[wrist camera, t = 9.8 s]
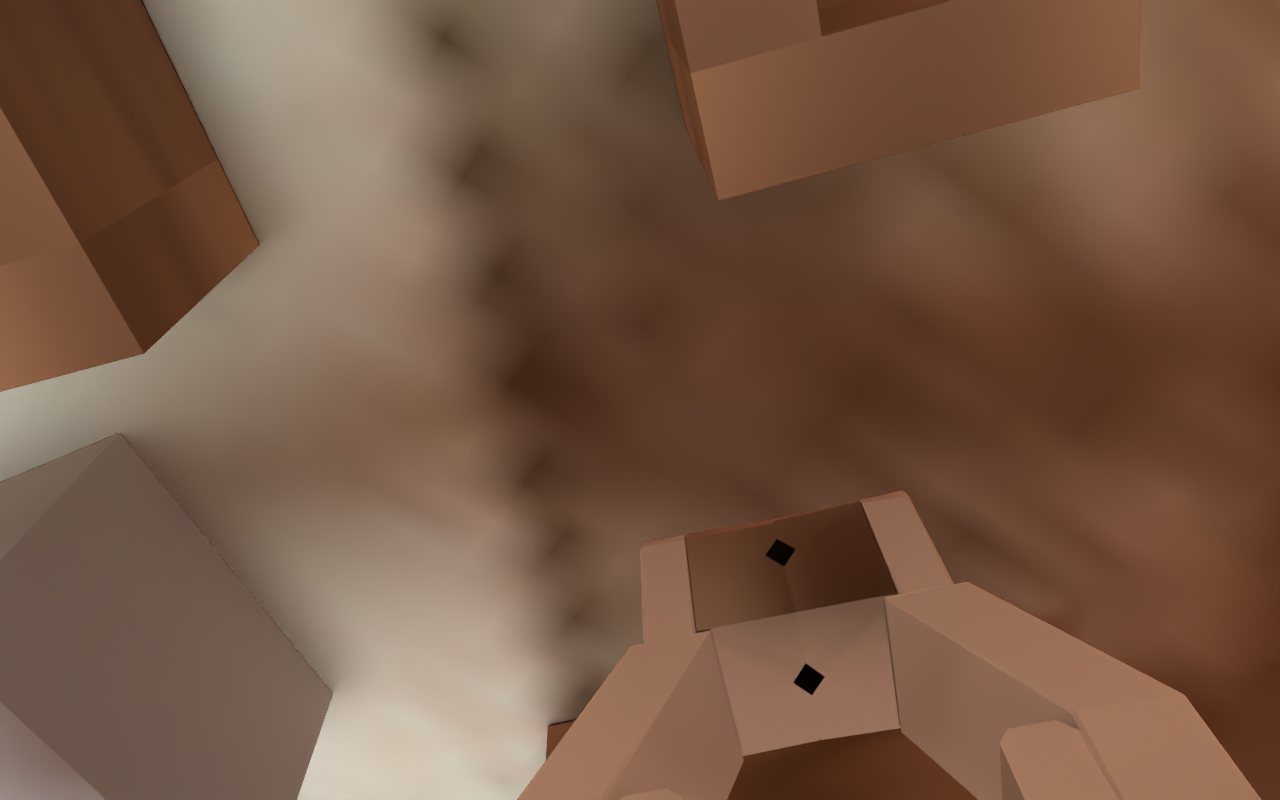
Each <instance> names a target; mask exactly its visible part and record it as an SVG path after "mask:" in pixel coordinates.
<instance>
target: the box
mask: <svg viewBox="0 0 1280 800" xmlns="http://www.w3.org/2000/svg"><path fill="white" fill-rule="evenodd" d="M657 4H658V8H659V12H660V17H661V21H662V25H663V30H664V34H665V39H666V43H667V47H668V52H669V56H670V61H671V65H672V69H673V74H674V78H675V82H676V87H677V91H678V96H679V100H680V104H681V109H682V113H683V117H684V122H685V126H686V129H687V132H688V134H689V136H690V138H691V141H692V143H693V145H694V147H695V149H696V152H697V154H698V156H699V158H700V161H701V163H702V165H703V167H704V169H705V172H706V174H707V176H708V178H709V180H710V183H711V185H712V187H713V189H714V192H715V194H716V196H717V198H718V200H723V199H726V198H730V197H734V196H738V195H741V194H745V193H749V192H753V191H756V190H760V189H764V188H768V187H771V186H775V185H779V184H783V183H786V182H790V181H794V180H798V179H801V178H805V177H809V176H813V175H817V174H820V173H824V172H828V171H832V170H835V169H839V168H843V167H847V166H850V165H854V164H858V163H862V162H865V161H869V160H873V159H877V158H880V157H884V156H888V155H892V154H895V153H899V152H903V151H907V150H910V149H914V148H918V147H922V146H925V145H929V144H933V143H937V142H940V141H944V140H948V139H952V138H956V137H959V136H963V135H967V134H971V133H974V132H978V131H982V130H986V129H989V128H993V127H997V126H1001V125H1004V124H1008V123H1012V122H1016V121H1019V120H1023V119H1027V118H1031V117H1034V116H1038V115H1042V114H1046V113H1049V112H1053V111H1057V110H1061V109H1064V108H1068V107H1072V106H1076V105H1080V104H1083V103H1087V102H1091V101H1095V100H1098V99H1102V98H1106V97H1110V96H1113V95H1117V94H1121V93H1125V92H1128V91H1132V90H1136V89H1139V40H1140V0H657ZM258 246H259V244H258V242H257V240H256V238H255V235H254V233H253V231H252V229H251V227H250V225H249V223H248V221H247V219H246V217H245V215H244V213H243V211H242V209H241V207H240V204H239V202H238V200H237V198H236V196H235V194H234V192H233V190H232V188H231V186H230V184H229V182H228V180H227V178H226V175H225V173H224V171H223V169H222V167H221V165H220V163H219V161H218V159H217V157H216V155H215V153H214V151H213V149H212V147H211V144H210V142H209V140H208V138H207V136H206V134H205V132H204V130H203V128H202V126H201V124H200V122H199V120H198V118H197V115H196V113H195V111H194V109H193V107H192V105H191V103H190V101H189V99H188V97H187V95H186V93H185V91H184V89H183V87H182V84H181V82H180V80H179V78H178V76H177V74H176V72H175V70H174V68H173V66H172V64H171V62H170V60H169V58H168V55H167V53H166V51H165V49H164V47H163V45H162V43H161V41H160V39H159V37H158V35H157V33H156V31H155V29H154V27H153V24H152V22H151V20H150V18H149V16H148V14H147V12H146V10H145V8H144V6H143V4H142V2H141V0H0V392H1V391H5V390H9V389H12V388H16V387H20V386H24V385H28V384H31V383H35V382H39V381H43V380H46V379H50V378H54V377H58V376H61V375H65V374H69V373H73V372H76V371H80V370H84V369H88V368H91V367H95V366H99V365H103V364H106V363H110V362H114V361H118V360H121V359H125V358H129V357H133V356H136V355H140V354H144V353H145V352H146V351H147V350H148V349H149V348H150V347H151V346H152V345H154V344H155V343H156V342H157V341H158V340H159V339H160V338H161V337H162V336H163V335H164V334H165V333H166V332H167V331H168V330H169V329H171V328H172V327H173V326H174V325H175V324H176V323H177V322H178V321H179V320H180V319H181V318H182V317H183V316H184V315H185V314H186V313H188V312H189V311H190V310H191V309H192V308H193V307H194V306H195V305H196V304H197V303H198V302H199V301H200V300H201V299H202V298H203V297H205V296H206V295H207V294H208V293H209V292H210V291H211V290H212V289H213V288H214V287H215V286H216V285H217V284H218V283H219V282H220V281H222V280H223V279H224V278H225V277H226V276H227V275H228V274H229V273H230V272H231V271H232V270H233V269H234V268H235V267H236V266H238V265H239V264H240V263H241V262H242V261H243V260H244V259H245V258H246V257H247V256H248V255H249V254H250V253H251V252H252V251H253V250H255V249H256V248H257V247H258ZM574 722H575V721H571V722H567V723H562V724H557V725H553V726H548V736H547V752H546V760H547V758H548V757H549V756H550V754H551V753H552V752H553V750H554V749H555V748H556V746H557V745H558V744H559V742H560V741H561V740H562V738H563V737H564V735H565V734H566V733H567V731H568V730H569V729H570V727H571V726H572V725H573V723H574ZM819 736H820V735H819ZM743 760H744V761H743V764H742V766H741V768H740V771H739V773H738V775H737V778H736V780H735V782H734V785H733V787H732V789H731V792H730V794H729V796H728V799H727V800H978V799H977V798H976V797H975V796H974V795H972V794H971V793H970V792H969V791H968V790H967V789H966V788H965V787H963V786H962V785H961V784H960V783H959V782H958V781H957V780H955V779H954V778H953V777H952V776H951V775H950V774H949V773H948V772H946V771H945V770H944V769H943V768H942V767H941V766H940V765H938V764H937V763H936V762H935V761H934V760H933V759H932V758H930V757H929V756H928V755H927V754H926V753H925V752H924V751H923V750H921V749H920V748H919V747H918V746H917V745H916V744H915V743H913V742H912V741H911V740H910V739H909V738H908V737H907V736H906V735H904V734H903V733H902V732H901V728H898V729H892V730H885V731H878V732H872V733H865V734H858V735H852V736H845V737H838V738H831V739H825V740H821V739H820V740H818V741H814V742H809V743H804V744H799V745H794V746H789V747H785V748H780V749H775V750H770V751H765V752H760V753H756V754H751V755H746V756H743Z"/></svg>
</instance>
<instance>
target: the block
mask: <svg viewBox="0 0 1280 800" xmlns="http://www.w3.org/2000/svg"><path fill="white" fill-rule="evenodd" d="M332 695H333V693H332V692H331V691H330V690H329V688H328V687H327V686H326V685H325V684H324V682H323V681H322V680H321V679H320V677H319V676H318V675H317V674H316V672H315V671H314V670H313V669H312V668H311V666H310V665H309V664H308V663H307V661H306V660H305V659H304V658H303V656H302V655H301V654H300V653H299V652H298V650H297V649H296V648H295V647H294V645H293V644H292V643H291V642H290V640H289V639H288V638H287V637H286V636H285V634H284V633H283V632H282V631H281V629H280V628H279V627H278V626H277V624H276V623H275V622H274V621H273V620H272V618H271V617H270V616H269V615H268V613H267V612H266V611H265V610H264V608H263V607H262V606H261V605H260V604H259V602H258V601H257V600H256V599H255V597H254V596H253V595H252V594H251V592H250V591H249V590H248V589H247V588H246V586H245V585H244V584H243V583H242V581H241V580H240V579H239V578H238V577H237V575H236V574H235V573H234V572H233V570H232V569H231V568H230V567H229V565H228V564H227V563H226V562H225V561H224V559H223V558H222V557H221V556H220V554H219V553H218V552H217V551H216V549H215V548H214V547H213V546H212V545H211V543H210V542H209V541H208V540H207V538H206V537H205V536H204V535H203V533H202V532H201V531H200V530H199V529H198V527H197V526H196V525H195V524H194V522H193V521H192V520H191V519H190V517H189V516H188V515H187V514H186V513H185V511H184V510H183V509H182V508H181V506H180V505H179V504H178V503H177V501H176V500H175V499H174V498H173V497H172V495H171V494H170V493H169V492H168V490H167V489H166V488H165V487H164V486H163V484H162V483H161V482H160V481H159V479H158V478H157V477H156V476H155V474H154V473H153V472H152V471H151V470H150V468H149V467H148V466H147V465H146V463H145V462H144V461H143V460H142V458H141V457H140V456H139V455H138V454H137V452H136V451H135V450H134V449H133V447H132V446H131V445H130V444H129V442H128V441H127V440H126V439H125V438H124V436H123V435H122V434H121V433H117V434H115V435H113V436H110V437H108V438H105V439H103V440H101V441H98V442H96V443H93V444H91V445H89V446H86V447H84V448H81V449H79V450H77V451H74V452H72V453H69V454H67V455H65V456H62V457H60V458H57V459H55V460H53V461H50V462H48V463H45V464H43V465H41V466H38V467H36V468H33V469H31V470H29V471H26V472H24V473H21V474H19V475H17V476H14V477H12V478H9V479H7V480H5V481H2V482H0V800H297V797H298V794H299V791H300V789H301V786H302V783H303V780H304V777H305V774H306V771H307V768H308V765H309V762H310V759H311V756H312V754H313V751H314V748H315V745H316V742H317V739H318V736H319V733H320V730H321V727H322V724H323V721H324V718H325V716H326V713H327V710H328V707H329V704H330V701H331V698H332Z"/></svg>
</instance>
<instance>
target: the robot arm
mask: <svg viewBox="0 0 1280 800" xmlns="http://www.w3.org/2000/svg"><path fill="white" fill-rule="evenodd" d="M640 565H641V591H642V617H643V643H642V644H637V645H632V646H630V647H629V649H628V650H627V652H626V653H625V654H624V656H623V657H622V658H621V660H620V661H619V662H618V664H617V665H616V666H615V668H614V669H613V671H612V672H611V673H610V675H609V676H608V677H607V679H606V680H605V681H604V683H603V684H602V685H601V687H600V688H599V689H598V691H597V692H596V694H595V695H594V696H593V698H592V699H591V700H590V702H589V703H588V704H587V706H586V707H585V708H584V710H583V711H582V712H581V714H580V715H579V717H578V718H577V719H576V721H575V722H574V723H573V725H572V726H571V727H570V729H569V730H568V731H567V733H566V734H565V735H564V737H563V738H562V740H561V741H560V742H559V744H558V745H557V746H556V748H555V749H554V750H553V752H552V753H551V754H550V756H549V757H548V758H547V760H546V761H545V763H544V764H543V765H542V767H541V768H540V769H539V771H538V772H537V773H536V775H535V776H534V777H533V779H532V780H531V781H530V783H529V784H528V786H527V787H526V788H525V790H524V791H523V792H522V794H521V795H520V796H519V798H518V799H517V800H727V799H728V796H729V794H730V792H731V789H732V787H733V785H734V782H735V780H736V778H737V775H738V773H739V771H740V768H741V766H742V764H743V761H744V760H743V756H746V755H751V754H756V753H760V752H765V751H770V750H775V749H780V748H785V747H789V746H794V745H799V744H804V743H809V742H814V741H818V740H820V739H821V740H825V739H831V738H838V737H845V736H852V735H858V734H865V733H872V732H878V731H885V730H892V729H898V728H901V732H902V733H903V734H904V735H906V736H907V737H908V738H909V739H910V740H911V741H912V742H913V743H915V744H916V745H917V746H918V747H919V748H920V749H921V750H923V751H924V752H925V753H926V754H927V755H928V756H929V757H930V758H932V759H933V760H934V761H935V762H936V763H937V764H938V765H940V766H941V767H942V768H943V769H944V770H945V771H946V772H948V773H949V774H950V775H951V776H952V777H953V778H954V779H955V780H957V781H958V782H959V783H960V784H961V785H962V786H963V787H965V788H966V789H967V790H968V791H969V792H970V793H971V794H972V795H974V796H975V797H976V798H977V799H978V800H1261V799H1260V797H1259V796H1258V794H1257V793H1256V792H1255V790H1254V789H1253V788H1252V786H1251V785H1250V783H1249V782H1248V781H1247V779H1246V778H1245V777H1244V775H1243V774H1242V773H1241V771H1240V770H1239V768H1238V767H1237V766H1236V764H1235V763H1234V762H1233V760H1232V759H1231V758H1230V756H1229V755H1228V753H1227V752H1226V751H1225V749H1224V748H1223V747H1222V745H1221V744H1220V742H1219V741H1218V740H1217V738H1216V737H1215V736H1214V734H1213V733H1212V732H1211V730H1210V729H1209V727H1208V726H1207V725H1206V723H1205V722H1204V721H1203V719H1202V718H1201V717H1200V715H1199V714H1198V712H1197V711H1196V710H1195V708H1194V707H1193V706H1192V704H1191V703H1190V702H1189V700H1188V699H1187V697H1186V696H1185V695H1184V694H1182V693H1180V692H1178V691H1177V690H1175V689H1173V688H1171V687H1169V686H1167V685H1165V684H1163V683H1161V682H1159V681H1157V680H1155V679H1154V678H1152V677H1150V676H1148V675H1146V674H1144V673H1142V672H1140V671H1138V670H1136V669H1134V668H1132V667H1131V666H1129V665H1127V664H1125V663H1123V662H1121V661H1119V660H1117V659H1115V658H1113V657H1111V656H1109V655H1108V654H1106V653H1104V652H1102V651H1100V650H1098V649H1096V648H1094V647H1092V646H1090V645H1088V644H1086V643H1085V642H1083V641H1081V640H1079V639H1077V638H1075V637H1073V636H1071V635H1069V634H1067V633H1065V632H1064V631H1062V630H1060V629H1058V628H1056V627H1054V626H1052V625H1050V624H1048V623H1046V622H1044V621H1042V620H1041V619H1039V618H1037V617H1035V616H1033V615H1031V614H1029V613H1027V612H1025V611H1023V610H1021V609H1019V608H1018V607H1016V606H1014V605H1012V604H1010V603H1008V602H1006V601H1004V600H1002V599H1000V598H998V597H996V596H995V595H993V594H991V593H989V592H987V591H985V590H983V589H981V588H979V587H977V586H975V585H973V584H972V583H970V582H963V583H957V584H954V583H953V581H952V579H951V577H950V575H949V573H948V571H947V569H946V567H945V565H944V564H943V562H942V560H941V558H940V556H939V554H938V552H937V550H936V548H935V546H934V544H933V542H932V540H931V538H930V536H929V534H928V532H927V531H926V529H925V527H924V525H923V523H922V521H921V519H920V517H919V515H918V513H917V511H916V509H915V507H914V505H913V503H912V501H911V500H910V498H909V496H908V494H907V493H905V492H904V491H902V490H900V491H896V492H892V493H887V494H883V495H879V496H874V497H870V498H865V499H861V500H858V502H855V503H850V504H845V505H840V506H835V507H830V508H825V509H820V510H815V511H811V512H806V513H801V514H796V515H791V516H786V517H781V518H776V519H768V520H762V521H756V522H751V523H745V524H740V525H734V526H728V527H723V528H717V529H712V530H706V531H700V532H695V533H689V534H686V536H684V535H680V536H674V537H669V538H664V539H659V540H654V541H648V542H643V543H642V546H641V549H640ZM819 735H820V736H819Z"/></svg>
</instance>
